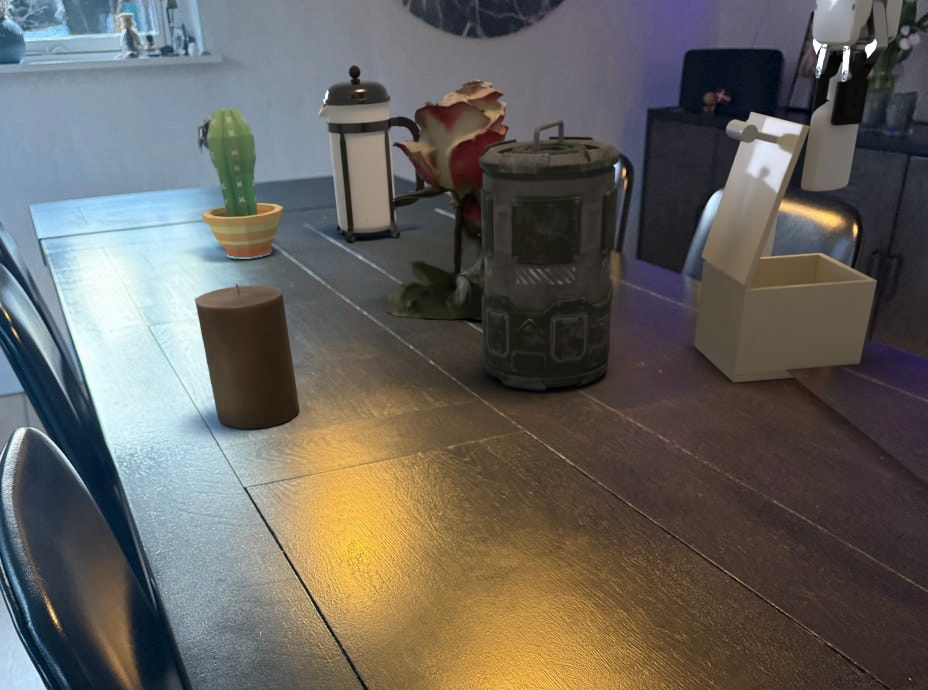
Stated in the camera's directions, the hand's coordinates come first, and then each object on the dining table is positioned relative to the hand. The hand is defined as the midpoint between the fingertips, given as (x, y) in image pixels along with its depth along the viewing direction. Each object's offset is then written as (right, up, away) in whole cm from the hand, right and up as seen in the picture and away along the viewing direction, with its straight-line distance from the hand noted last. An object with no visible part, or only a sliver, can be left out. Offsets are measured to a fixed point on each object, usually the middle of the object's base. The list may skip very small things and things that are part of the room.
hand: (835, 120), depth 100 cm
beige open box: (-1, -20, +18) cm, 27 cm away
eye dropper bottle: (0, -6, +4) cm, 7 cm away
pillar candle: (-65, -30, +10) cm, 72 cm away
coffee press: (-57, +28, +92) cm, 112 cm away
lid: (-7, -5, +7) cm, 11 cm away
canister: (-30, -22, +18) cm, 41 cm away
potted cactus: (-81, +19, +82) cm, 117 cm away
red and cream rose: (-35, -2, +47) cm, 59 cm away
